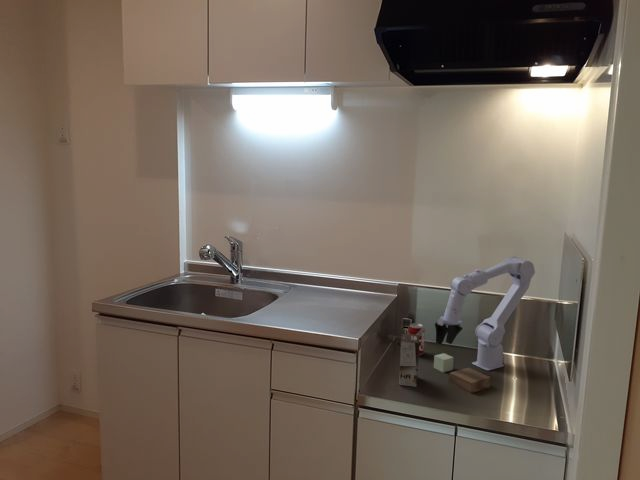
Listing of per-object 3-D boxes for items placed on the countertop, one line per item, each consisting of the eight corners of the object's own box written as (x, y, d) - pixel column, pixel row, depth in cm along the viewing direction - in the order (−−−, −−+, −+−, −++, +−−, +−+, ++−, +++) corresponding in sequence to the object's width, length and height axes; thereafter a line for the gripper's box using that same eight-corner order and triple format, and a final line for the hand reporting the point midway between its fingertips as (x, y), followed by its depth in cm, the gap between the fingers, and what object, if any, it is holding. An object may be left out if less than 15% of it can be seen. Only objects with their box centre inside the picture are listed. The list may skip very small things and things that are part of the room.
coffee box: (417, 387, 184) (419, 342, 181) (398, 385, 185) (400, 341, 183) (417, 376, 193) (419, 334, 190) (399, 374, 194) (401, 332, 191)
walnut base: (468, 377, 194) (468, 367, 193) (490, 387, 185) (490, 377, 185) (448, 383, 188) (449, 372, 188) (470, 394, 180) (471, 383, 179)
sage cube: (443, 365, 204) (443, 353, 203) (452, 370, 200) (453, 357, 199) (433, 368, 201) (434, 355, 200) (443, 372, 197) (443, 359, 196)
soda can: (406, 356, 212) (408, 327, 211) (406, 350, 219) (408, 322, 217) (423, 357, 211) (425, 328, 209) (423, 351, 218) (424, 323, 216)
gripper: (454, 305, 204) (444, 338, 206) (435, 304, 194) (424, 339, 195) (470, 312, 200) (460, 345, 201) (451, 311, 189) (440, 346, 190)
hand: (443, 343), depth 198 cm, fingers open, 7 cm apart
